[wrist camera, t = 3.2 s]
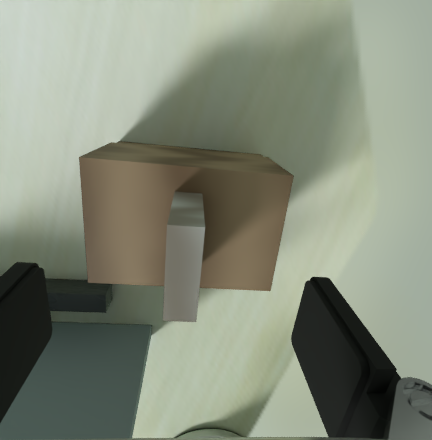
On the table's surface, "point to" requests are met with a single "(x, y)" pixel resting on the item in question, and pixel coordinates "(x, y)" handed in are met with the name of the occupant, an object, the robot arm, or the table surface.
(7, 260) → the table surface
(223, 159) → the walnut cabinet
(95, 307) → the rail
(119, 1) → the table surface
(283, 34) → the table surface
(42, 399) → the wall board
